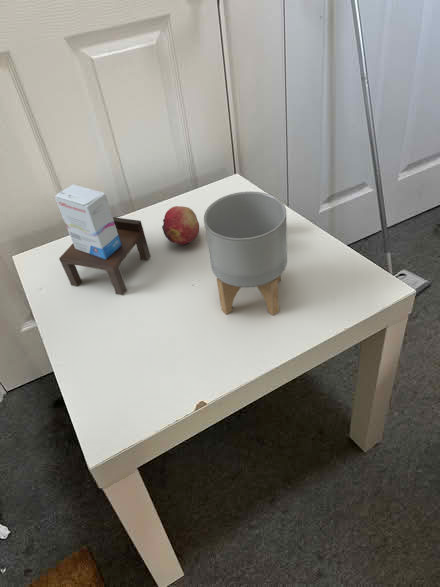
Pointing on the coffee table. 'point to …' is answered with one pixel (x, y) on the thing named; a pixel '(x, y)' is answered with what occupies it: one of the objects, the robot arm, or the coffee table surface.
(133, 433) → the coffee table surface
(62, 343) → the coffee table surface
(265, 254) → the planter
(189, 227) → the fruit
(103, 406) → the coffee table surface
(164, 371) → the coffee table surface
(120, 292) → the small wooden stool
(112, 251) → the ink box
